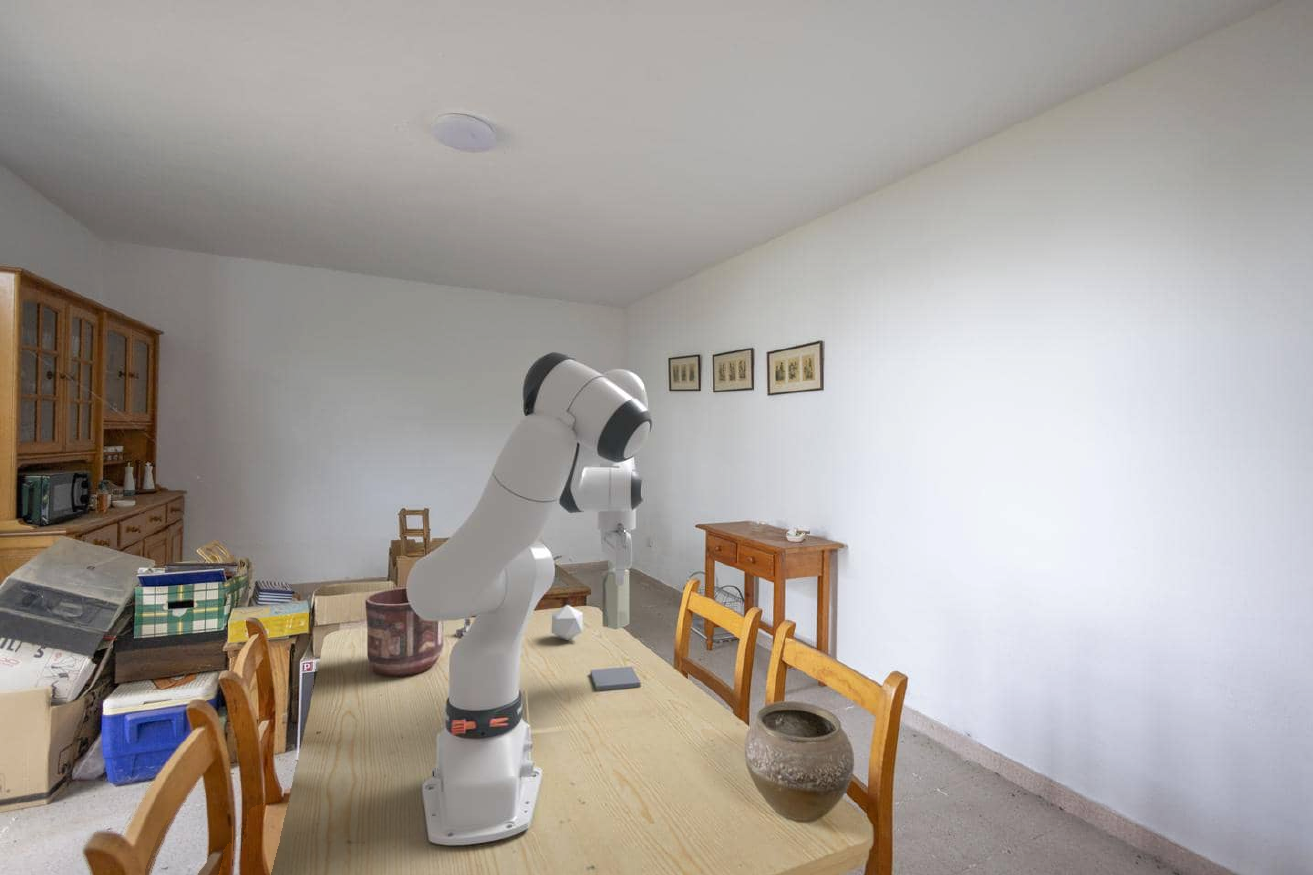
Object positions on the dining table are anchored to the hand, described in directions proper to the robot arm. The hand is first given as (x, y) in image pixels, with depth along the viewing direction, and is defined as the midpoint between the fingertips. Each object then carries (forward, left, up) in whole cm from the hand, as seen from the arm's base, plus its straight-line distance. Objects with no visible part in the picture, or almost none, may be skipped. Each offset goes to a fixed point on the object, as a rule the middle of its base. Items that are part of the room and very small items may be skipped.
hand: (616, 581), depth 141 cm
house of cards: (+39, +37, -24) cm, 59 cm away
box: (0, 0, -11) cm, 11 cm away
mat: (0, 0, -23) cm, 23 cm away
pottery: (+18, +48, -23) cm, 56 cm away
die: (+31, +8, -23) cm, 40 cm away
